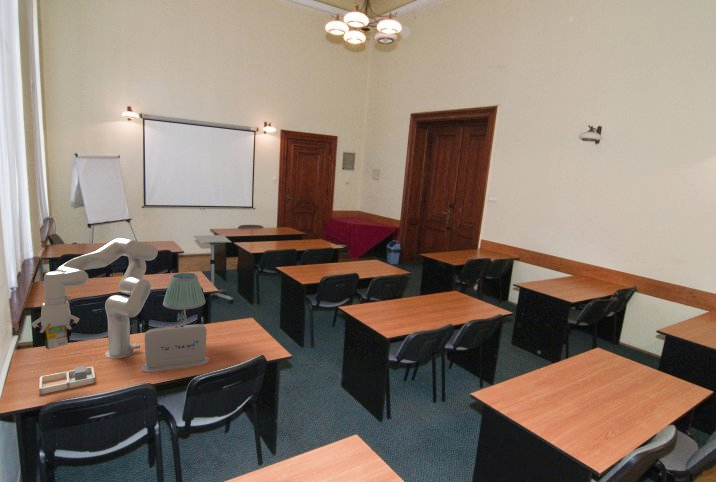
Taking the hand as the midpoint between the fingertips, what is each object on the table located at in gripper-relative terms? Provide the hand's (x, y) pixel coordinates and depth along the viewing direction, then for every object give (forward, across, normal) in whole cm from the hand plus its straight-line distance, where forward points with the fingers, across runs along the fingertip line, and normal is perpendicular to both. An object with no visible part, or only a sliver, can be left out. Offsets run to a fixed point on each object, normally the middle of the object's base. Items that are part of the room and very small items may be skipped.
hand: (56, 338), depth 172 cm
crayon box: (+4, 0, 0) cm, 4 cm away
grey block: (+20, -9, +3) cm, 22 cm away
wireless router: (+20, -48, +5) cm, 52 cm away
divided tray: (+21, -4, +3) cm, 21 cm away
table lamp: (+19, -56, -16) cm, 62 cm away
